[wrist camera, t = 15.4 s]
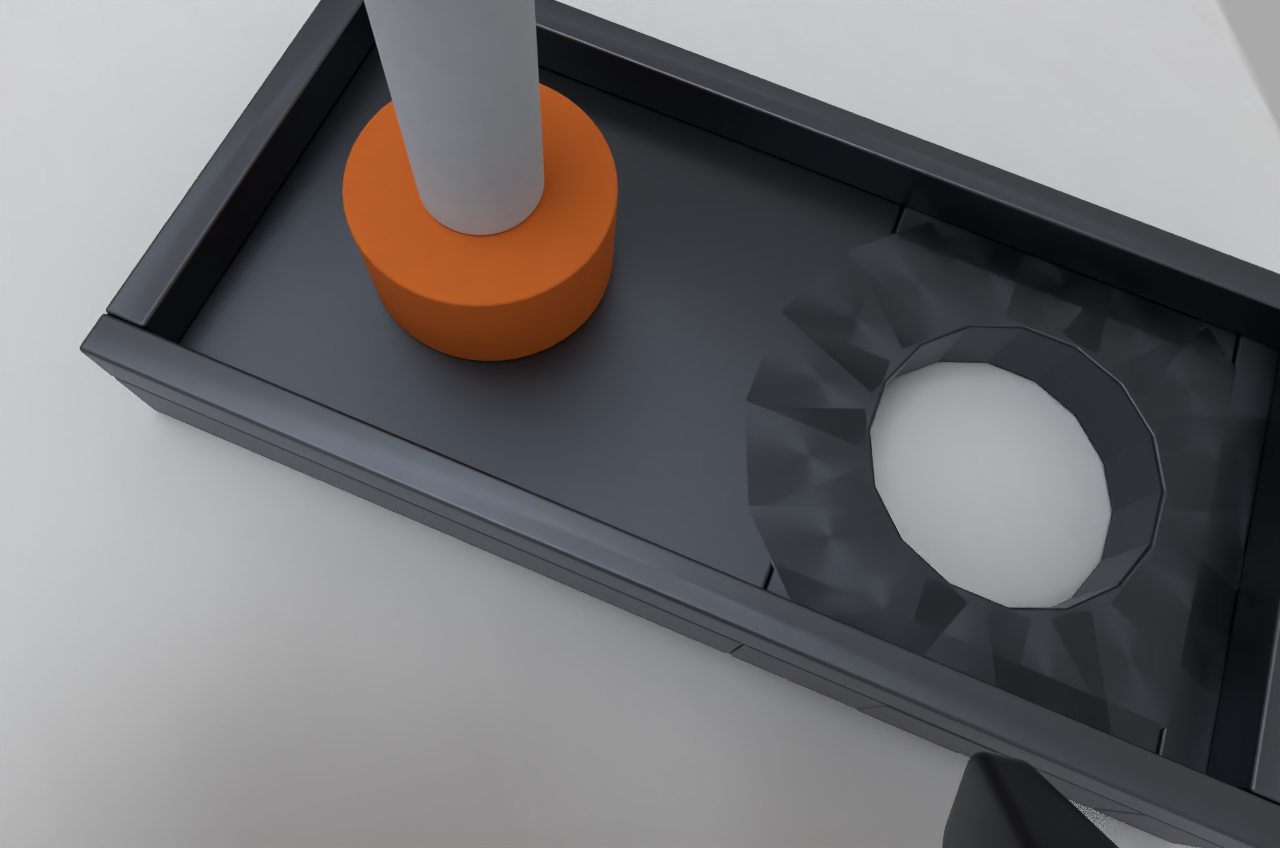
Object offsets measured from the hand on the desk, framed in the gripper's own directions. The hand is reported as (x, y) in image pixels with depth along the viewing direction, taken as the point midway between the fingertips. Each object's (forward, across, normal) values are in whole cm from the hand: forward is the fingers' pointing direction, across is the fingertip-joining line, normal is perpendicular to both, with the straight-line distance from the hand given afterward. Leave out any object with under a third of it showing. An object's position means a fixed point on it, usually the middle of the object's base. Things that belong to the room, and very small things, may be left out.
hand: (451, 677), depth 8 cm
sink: (+12, -2, 0) cm, 13 cm away
